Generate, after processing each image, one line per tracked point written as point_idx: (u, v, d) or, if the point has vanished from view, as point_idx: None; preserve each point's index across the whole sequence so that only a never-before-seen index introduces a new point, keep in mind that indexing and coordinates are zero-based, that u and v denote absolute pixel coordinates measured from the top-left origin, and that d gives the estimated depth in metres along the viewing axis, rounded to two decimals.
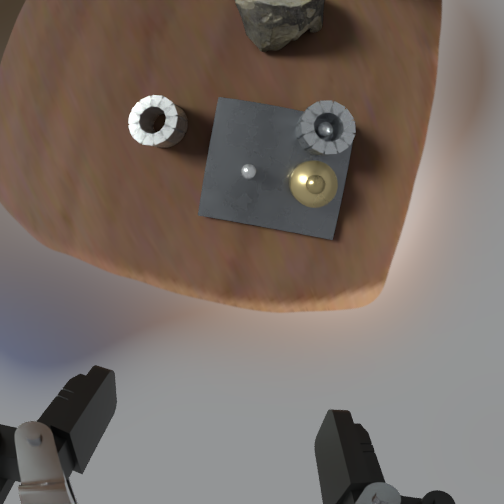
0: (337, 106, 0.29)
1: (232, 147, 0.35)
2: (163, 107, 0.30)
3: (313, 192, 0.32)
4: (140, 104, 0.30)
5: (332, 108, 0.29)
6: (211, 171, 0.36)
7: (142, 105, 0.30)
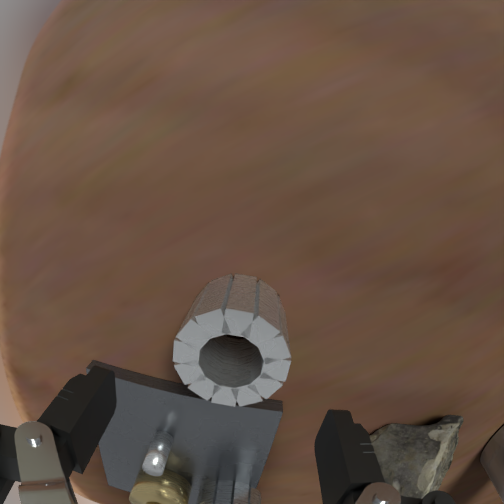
0: None
1: (195, 424, 0.20)
2: (257, 384, 0.15)
3: None
4: (271, 337, 0.14)
5: None
6: (154, 396, 0.20)
7: (268, 341, 0.14)
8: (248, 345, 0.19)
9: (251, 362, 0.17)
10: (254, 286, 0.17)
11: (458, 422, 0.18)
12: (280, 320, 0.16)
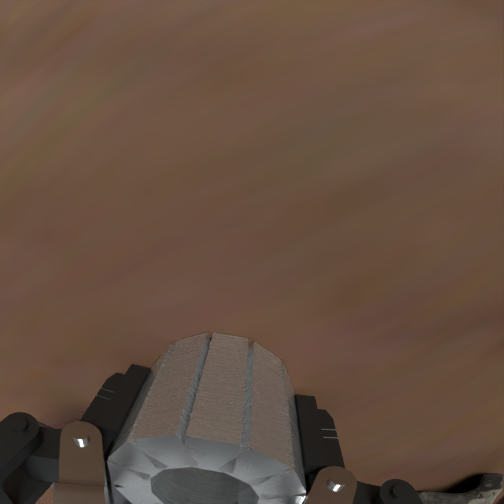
0: None
1: None
2: None
3: None
4: (274, 473, 0.07)
5: None
6: None
7: (268, 477, 0.07)
8: None
9: None
10: (244, 363, 0.09)
11: (501, 487, 0.10)
12: (289, 429, 0.08)
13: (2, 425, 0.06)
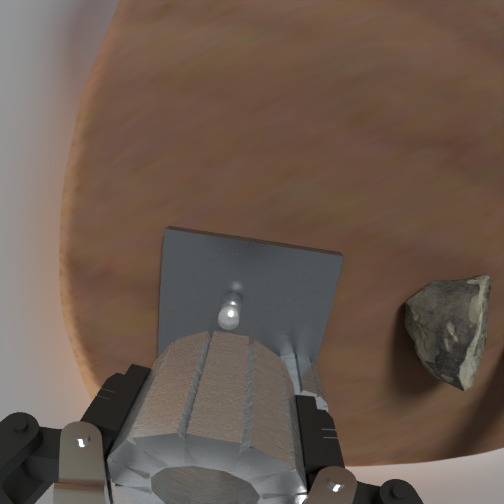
0: None
1: (266, 277, 0.25)
2: None
3: None
4: (275, 471, 0.07)
5: None
6: (230, 248, 0.25)
7: (269, 476, 0.07)
8: None
9: None
10: (244, 362, 0.09)
11: (488, 275, 0.23)
12: (290, 427, 0.08)
13: (2, 424, 0.06)
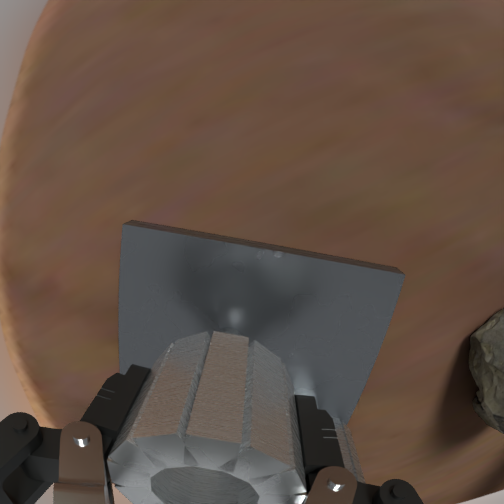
0: None
1: (285, 307, 0.15)
2: None
3: None
4: (274, 472, 0.07)
5: None
6: (227, 258, 0.15)
7: (268, 476, 0.07)
8: None
9: None
10: (244, 362, 0.09)
11: None
12: (289, 428, 0.08)
13: (2, 425, 0.06)
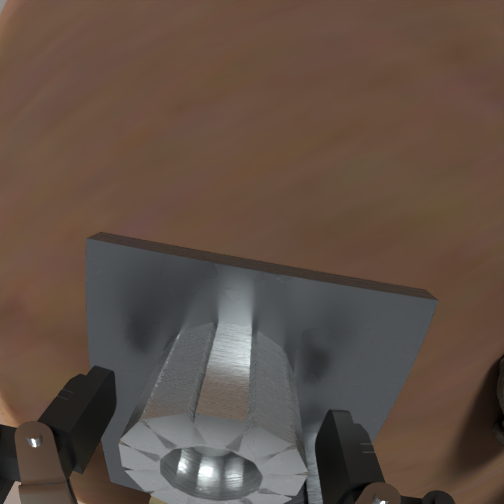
0: None
1: (291, 343, 0.12)
2: (253, 499, 0.08)
3: None
4: (277, 450, 0.07)
5: None
6: (217, 283, 0.11)
7: (272, 455, 0.07)
8: None
9: (244, 456, 0.10)
10: (248, 350, 0.10)
11: None
12: (291, 411, 0.09)
13: None
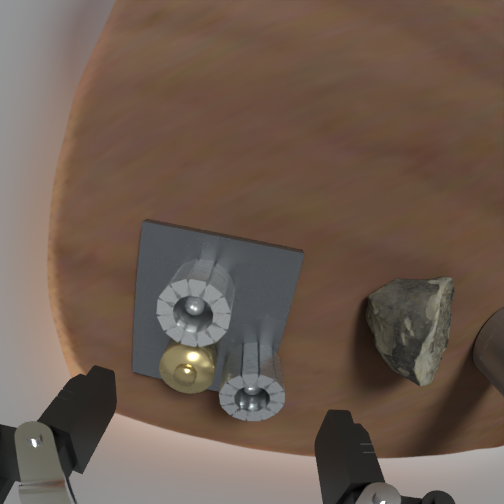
0: (277, 407, 0.26)
1: (232, 269, 0.28)
2: (210, 330, 0.24)
3: (174, 374, 0.26)
4: (217, 298, 0.23)
5: (274, 402, 0.25)
6: (200, 241, 0.27)
7: (216, 300, 0.23)
8: (208, 309, 0.27)
9: (208, 318, 0.25)
10: (211, 267, 0.26)
11: None
12: (226, 289, 0.24)
13: None
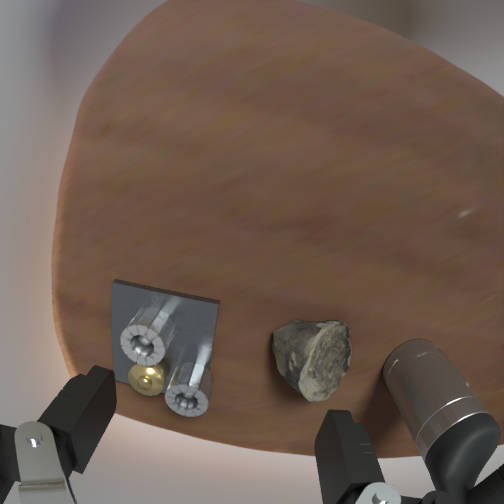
0: (204, 407, 0.37)
1: (171, 314, 0.39)
2: (153, 355, 0.35)
3: (137, 382, 0.38)
4: (155, 336, 0.34)
5: (201, 404, 0.37)
6: (149, 296, 0.39)
7: (154, 338, 0.35)
8: None
9: None
10: (155, 314, 0.37)
11: (338, 321, 0.37)
12: (162, 329, 0.36)
13: None
